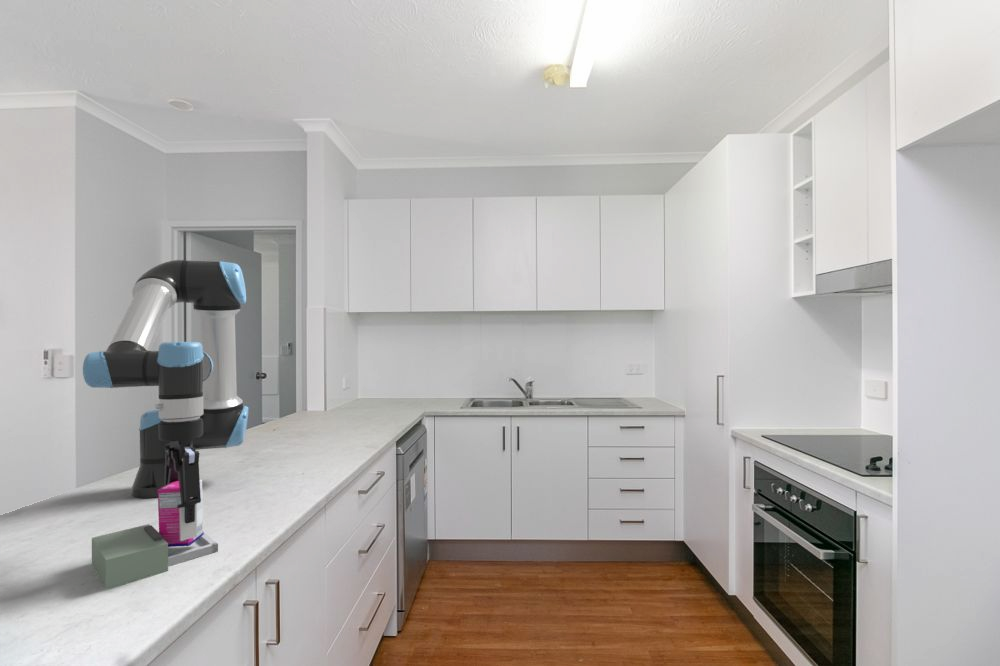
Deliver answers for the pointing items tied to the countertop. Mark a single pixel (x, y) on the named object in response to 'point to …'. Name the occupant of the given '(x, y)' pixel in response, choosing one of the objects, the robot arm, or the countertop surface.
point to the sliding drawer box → (140, 554)
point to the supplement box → (175, 515)
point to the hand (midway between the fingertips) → (181, 532)
